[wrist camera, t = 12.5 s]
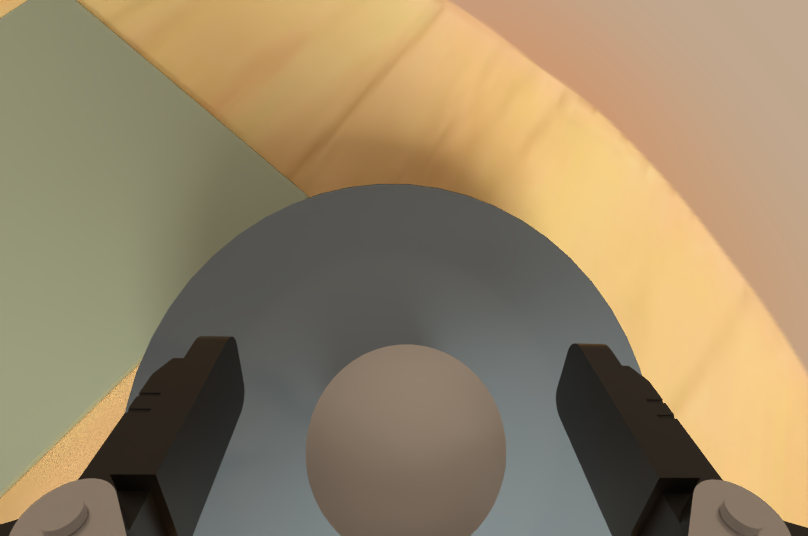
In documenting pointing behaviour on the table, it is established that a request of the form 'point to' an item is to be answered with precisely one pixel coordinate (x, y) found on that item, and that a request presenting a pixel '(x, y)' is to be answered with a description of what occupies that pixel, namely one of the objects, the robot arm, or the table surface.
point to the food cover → (394, 369)
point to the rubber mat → (100, 215)
